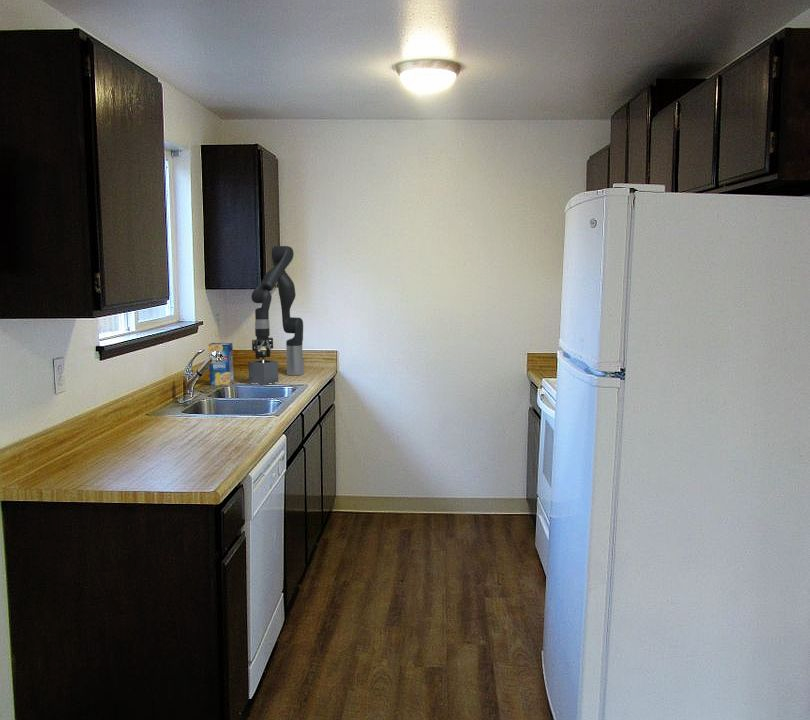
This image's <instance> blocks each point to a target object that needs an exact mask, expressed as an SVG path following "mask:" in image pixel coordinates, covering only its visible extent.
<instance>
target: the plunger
mask: <svg viewBox="0 0 810 720" xmlns="http://www.w3.org/2000/svg"><path fill="white" fill-rule="evenodd" d="M259 352H260V358H261V360H262V363H264V360H265V358H268V357H267V351H266V350H260V351H259Z"/></svg>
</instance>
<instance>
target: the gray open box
mask: <svg viewBox="0 0 810 720" xmlns="http://www.w3.org/2000/svg"><path fill="white" fill-rule="evenodd" d="M247 367H248V384H249V383H258V384H264V385H265V384H269V383H275V382H278V383H279V361H278V360H273V359H272V360H271V359H269V360H268V359H264V363H262V359H256V360H251V361H248V366H247Z"/></svg>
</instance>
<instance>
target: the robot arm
mask: <svg viewBox="0 0 810 720" xmlns="http://www.w3.org/2000/svg"><path fill="white" fill-rule="evenodd" d="M294 255H295V254H294V249H293V247H291V246H288V245H274V246H273V247H272V248H271V258H272V259H271V260H272V264H273V267H272V268H270V269H269V270H268V271H267V272H266V274H265V275H264V277H263V278H262V280H261V282H260V283H259V284H258V285H257V286H256V287H255V288H254V289H253V291H252V292H251V297H250V298H251V301H252V302H253V303H254V304H261V307H257V308H255V310H254V311H255V312H254V313H255V314H254V315H255V316H254V317H255V320H254V321H255V322H254V331H255V332H254V333H255V337H256V338H255V339H252V340H251V351H252V352H255V359H256V360H261V357H260V352H259V351H261V349H263V347H264V348H265V351H267V357H266V358H270V357H271V350H273V349H274V337H270V334H271V333H270V320H269V319H270V318H269V317H270V315H269V314H270V313H269V311H270V306H271V303H272V299H273V298H272V293H271V292H272V291H273V289H274V287H275V286H276V284H277V289H278V296H279V301H280V306H281V317H282V320H281V321H282V322H281V323H282V329H283V331H284V332H285V333H286V334H294V335H293V337H292V338H288V339H286V345H285V346H286V352H285V353H286V375H287V376H303V374H305V364H304V363H305V361H304V360H305V359H304V357H303V342H304V341H303V340H304V321H303V319H302V318H301V317H292V316H291V312H290V311H291V308H292V305H293V303H294V300H295V299H296V289H295V288H296V287H295V283H294V281H293V279H292V278H291V276H290V275H289V274H288V273H287V271H286V269H287V268H288V266H289V265H290V264H291V263H292V261H293V258H294Z"/></svg>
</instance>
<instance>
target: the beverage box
mask: <svg viewBox="0 0 810 720" xmlns="http://www.w3.org/2000/svg"><path fill="white" fill-rule="evenodd" d="M233 347H234V346H233V342H211V343H208V358H209V357H210V355H211V353H212V352H214V351H219V352H221V353H222V354H223V357H224V359H223V361H222V362H216V361H212V362H211V363H210V365H208V366H209V386H219V385H220V384H231V383H232V382H234V381H235V380H234V378H235V377H234V352H233V351H234V350H233V349H234V348H233Z"/></svg>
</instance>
